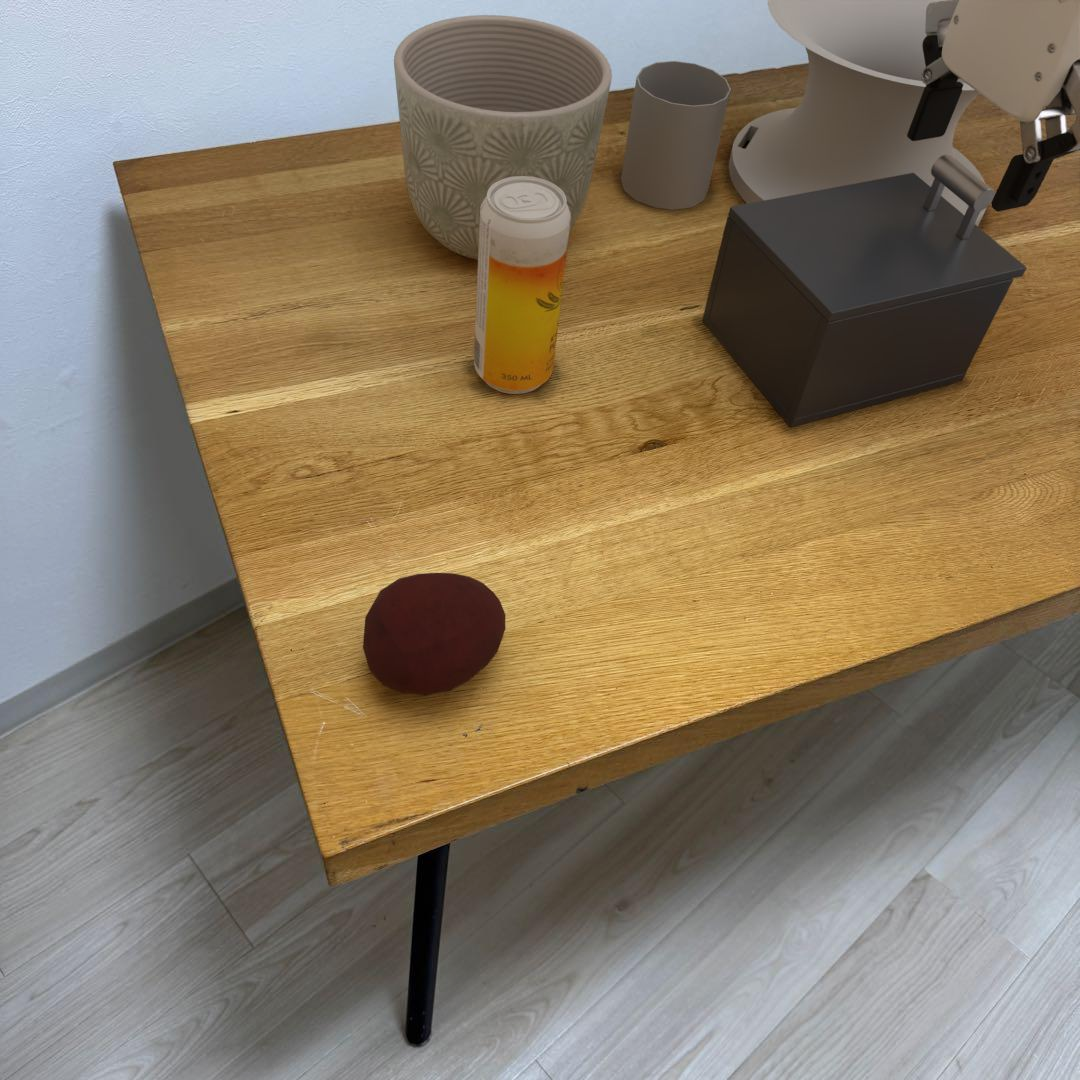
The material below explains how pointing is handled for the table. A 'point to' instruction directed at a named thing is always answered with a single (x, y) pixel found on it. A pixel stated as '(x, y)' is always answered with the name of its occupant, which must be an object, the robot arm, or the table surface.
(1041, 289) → the table surface
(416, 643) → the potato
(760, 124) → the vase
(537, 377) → the beer can
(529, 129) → the planter
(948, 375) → the open box
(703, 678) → the table surface
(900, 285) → the box lid
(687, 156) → the cup
